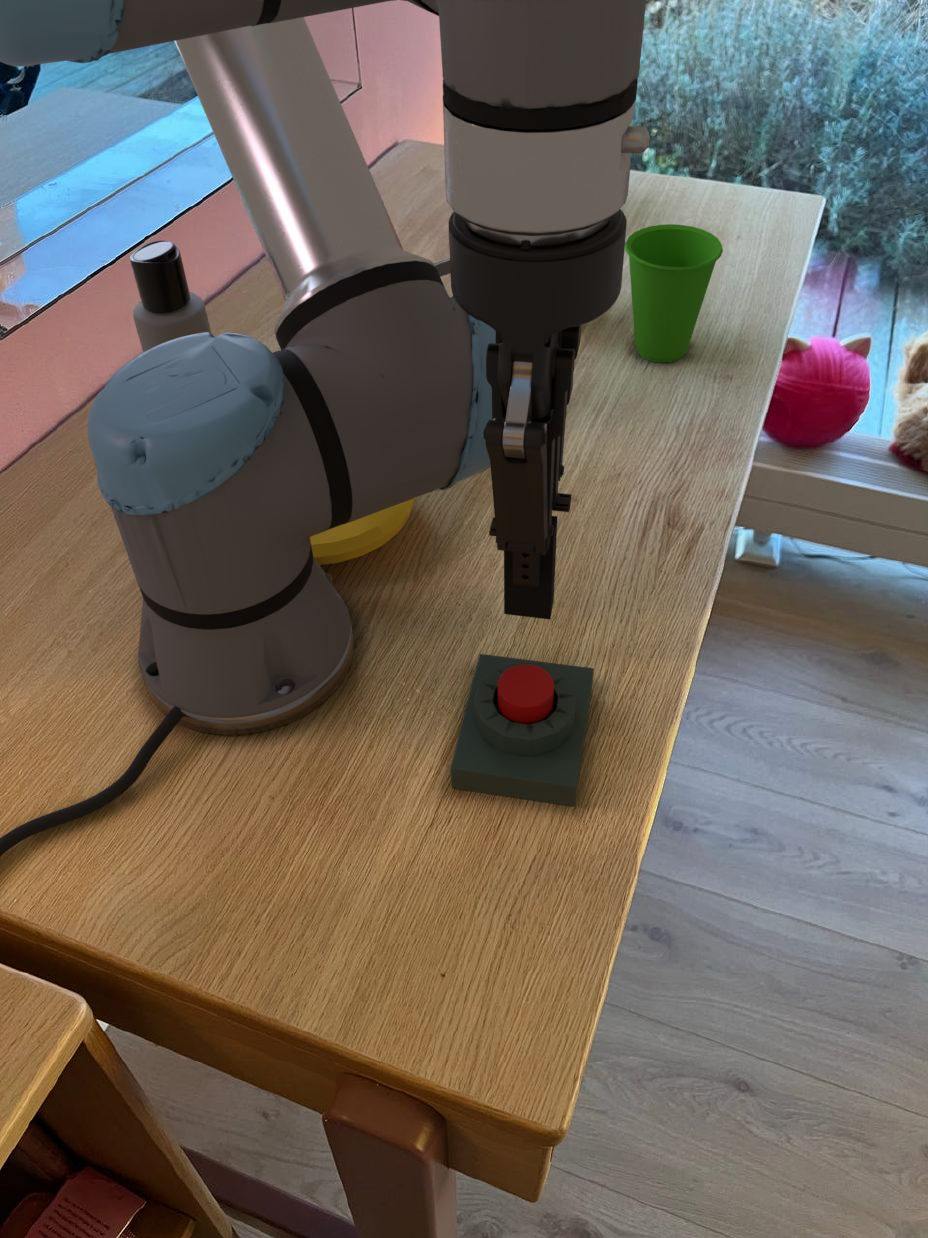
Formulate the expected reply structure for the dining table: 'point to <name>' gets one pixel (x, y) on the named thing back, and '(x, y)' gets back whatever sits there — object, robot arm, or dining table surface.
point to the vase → (359, 535)
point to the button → (525, 693)
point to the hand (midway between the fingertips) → (529, 607)
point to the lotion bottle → (164, 296)
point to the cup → (669, 286)
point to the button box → (523, 737)
